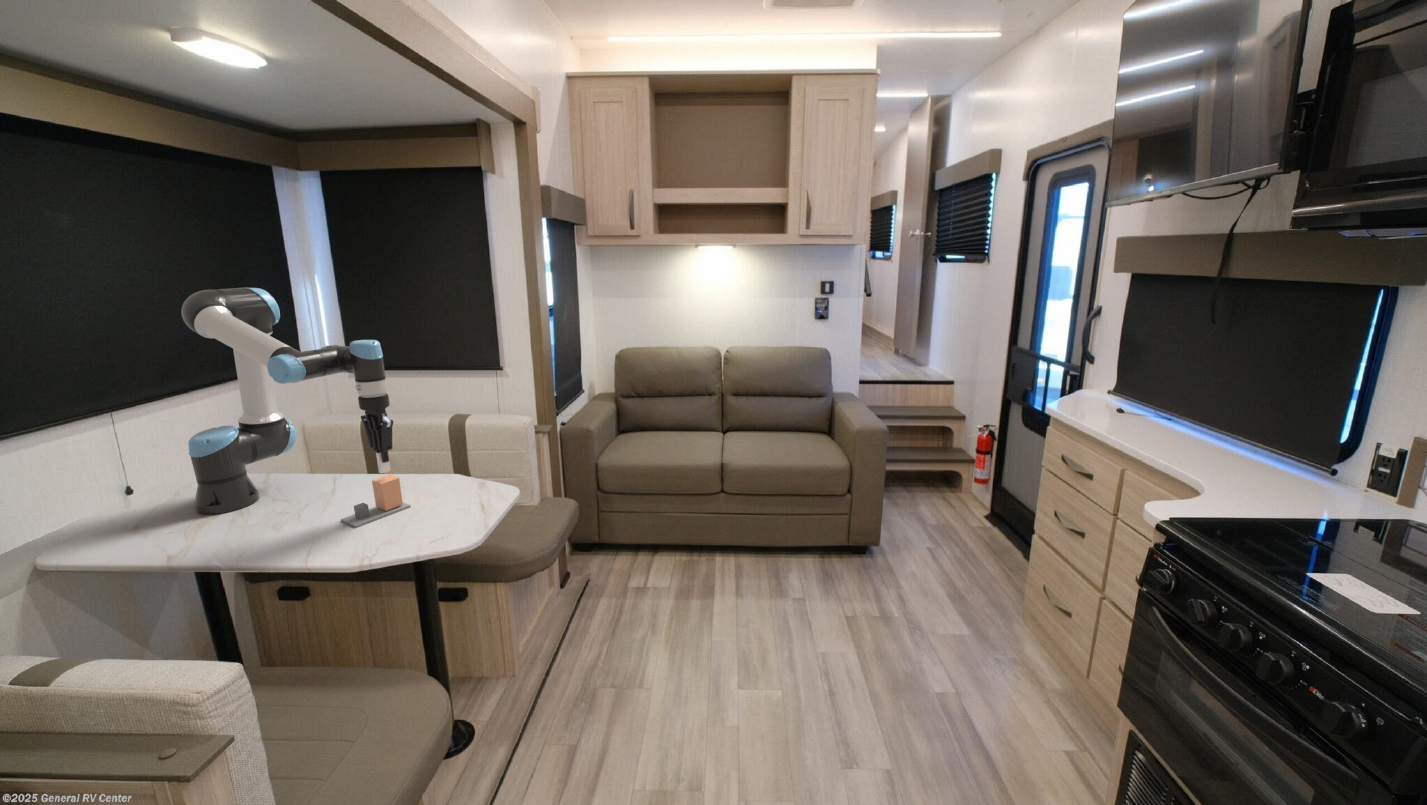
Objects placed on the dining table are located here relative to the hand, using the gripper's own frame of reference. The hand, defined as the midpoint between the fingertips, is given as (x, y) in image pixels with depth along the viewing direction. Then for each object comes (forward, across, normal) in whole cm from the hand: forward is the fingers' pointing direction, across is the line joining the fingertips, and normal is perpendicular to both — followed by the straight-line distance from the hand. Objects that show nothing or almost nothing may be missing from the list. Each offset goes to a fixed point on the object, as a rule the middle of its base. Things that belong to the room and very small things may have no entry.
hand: (384, 471), depth 168 cm
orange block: (+11, 0, 0) cm, 11 cm away
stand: (+12, 0, -4) cm, 13 cm away
